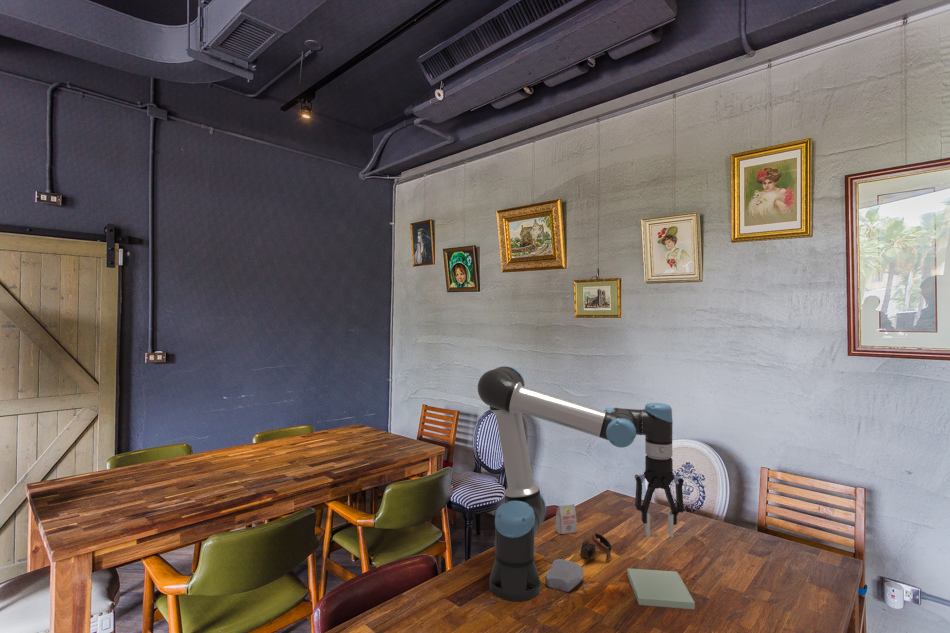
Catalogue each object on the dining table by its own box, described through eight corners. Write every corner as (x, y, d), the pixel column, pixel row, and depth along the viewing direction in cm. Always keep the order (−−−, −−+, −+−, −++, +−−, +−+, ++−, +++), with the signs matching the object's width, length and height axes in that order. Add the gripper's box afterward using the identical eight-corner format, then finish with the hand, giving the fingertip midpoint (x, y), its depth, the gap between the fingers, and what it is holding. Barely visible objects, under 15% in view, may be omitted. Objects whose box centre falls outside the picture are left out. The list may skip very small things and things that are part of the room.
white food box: (555, 530, 177) (555, 504, 177) (571, 528, 179) (571, 502, 179) (560, 535, 174) (560, 508, 174) (576, 532, 176) (576, 506, 176)
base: (638, 605, 131) (638, 598, 131) (627, 574, 147) (627, 568, 147) (694, 609, 129) (694, 602, 129) (677, 578, 145) (677, 571, 145)
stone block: (584, 580, 146) (553, 567, 150) (587, 566, 145) (556, 553, 150) (575, 602, 135) (542, 587, 139) (578, 587, 135) (545, 572, 139)
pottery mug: (584, 547, 164) (596, 528, 164) (606, 568, 159) (618, 548, 158) (570, 553, 155) (582, 533, 154) (592, 575, 149) (606, 554, 148)
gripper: (628, 458, 136) (628, 538, 135) (696, 461, 133) (697, 542, 133) (623, 451, 143) (623, 527, 143) (688, 453, 141) (688, 530, 140)
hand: (659, 534), depth 138 cm, fingers open, 6 cm apart
